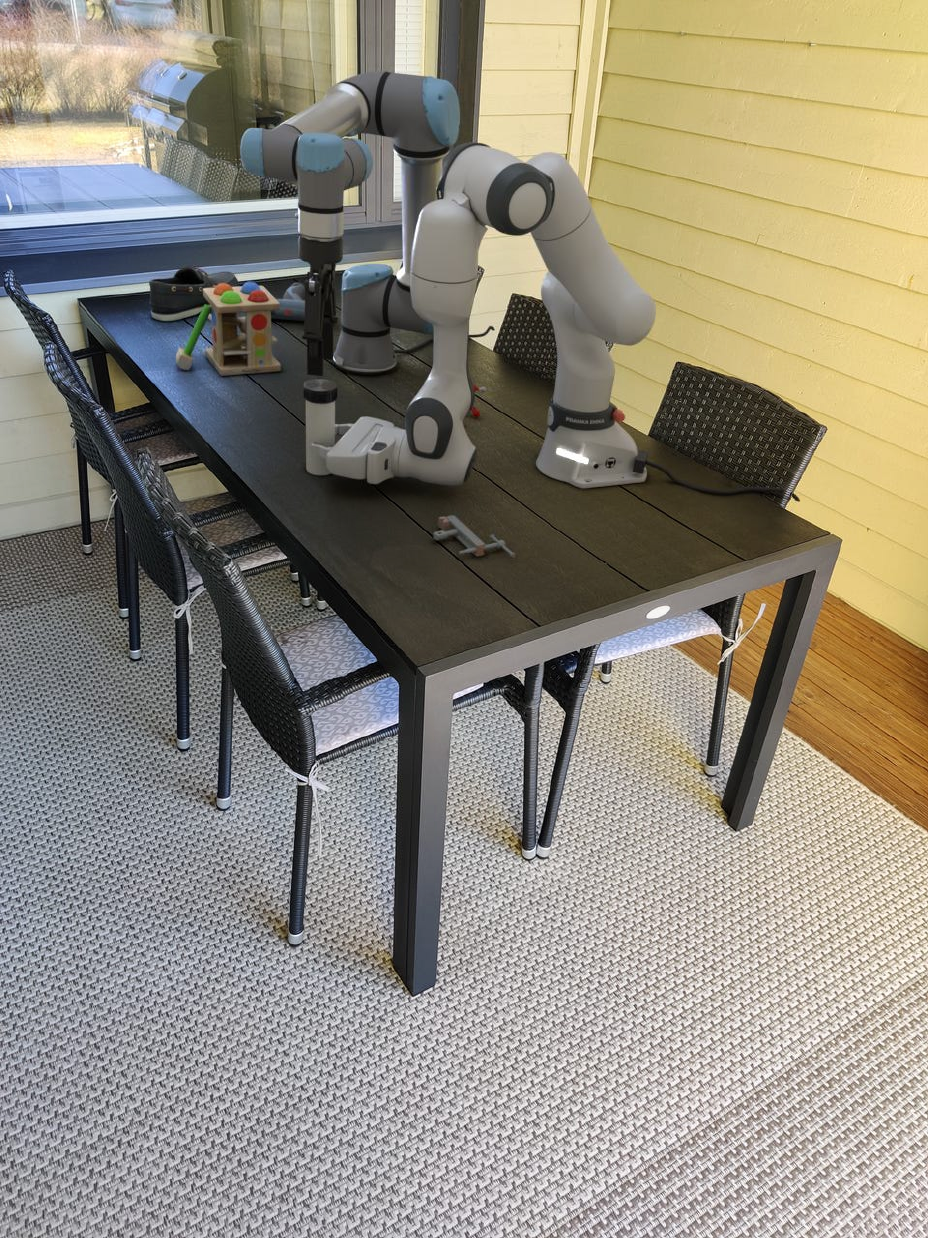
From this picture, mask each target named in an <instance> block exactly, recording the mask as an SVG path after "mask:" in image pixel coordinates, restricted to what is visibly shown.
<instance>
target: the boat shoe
mask: <svg viewBox="0 0 928 1238" xmlns="http://www.w3.org/2000/svg"><path fill="white" fill-rule="evenodd" d="M221 283H226V284H228V285H230V286H231V287H240V285H239V280H238V278H237V277H236V275H235V274H234V273H233V272H231V271H220V272H213V273H210V274H208V273H207V272H206V271H205V270H204V269H202V268H199V267H195V266H191V265H186V266H185V265H184V266H183V267H181V268H179V269H178V270H177V271H176V272H175V273H174V274H173V277H172V276H171V277H167V278H166V277H165V278H152V279H150V280H149V281H148V285H149V291H150V292H149V302H148V306H151V309H150V313H151V317H152V318H153V319H155V320H157V321H162V322H171V321H172V322H173V321H178V320H182V319H184V318H188V317H192V316H196V315H197V314H200V313H201V311H202V309H203V307H204V305H208V306H210V307H211V305H210V304H209V302H208V301H207V300H206V299H205V297H204V296H203V289H204V288H215V287H216V286H217V285H218V284H221Z"/></svg>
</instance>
